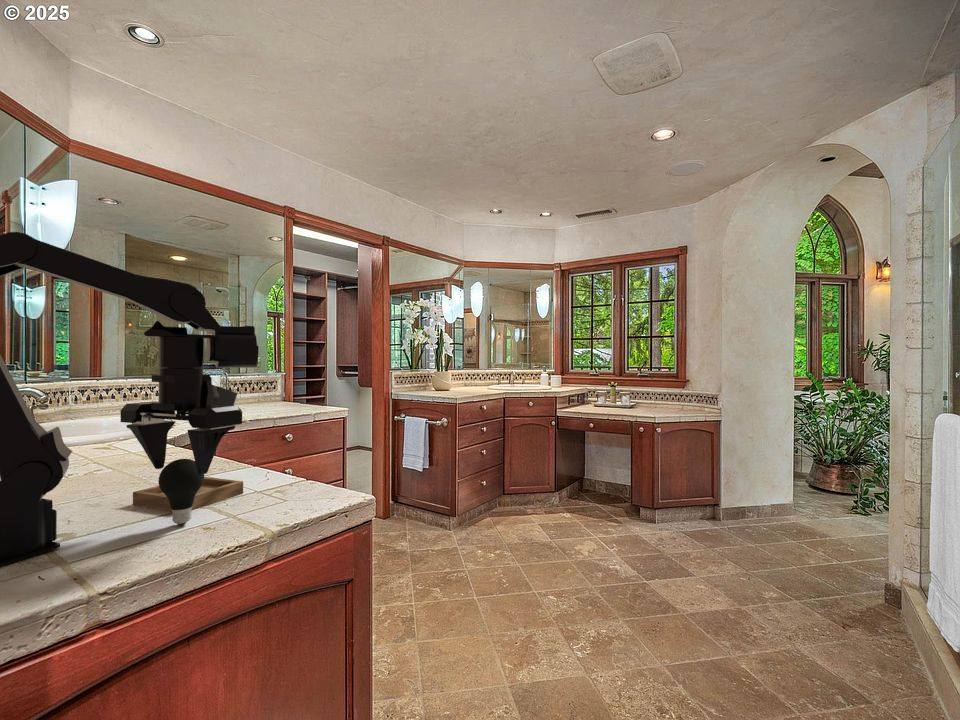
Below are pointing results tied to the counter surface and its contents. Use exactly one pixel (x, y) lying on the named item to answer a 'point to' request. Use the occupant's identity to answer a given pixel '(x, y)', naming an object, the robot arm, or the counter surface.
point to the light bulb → (180, 487)
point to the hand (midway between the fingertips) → (180, 471)
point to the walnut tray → (205, 495)
